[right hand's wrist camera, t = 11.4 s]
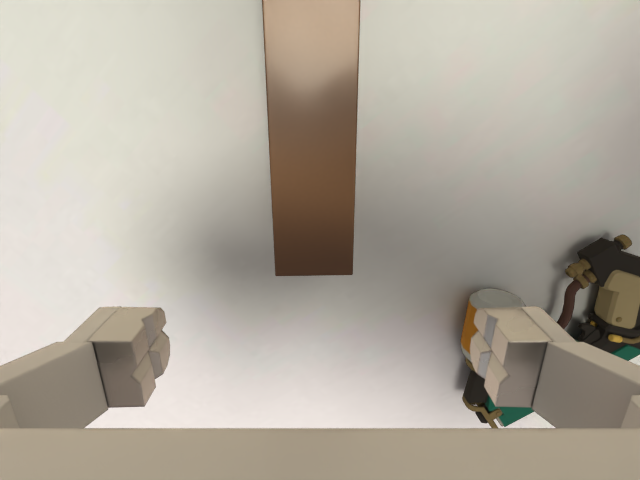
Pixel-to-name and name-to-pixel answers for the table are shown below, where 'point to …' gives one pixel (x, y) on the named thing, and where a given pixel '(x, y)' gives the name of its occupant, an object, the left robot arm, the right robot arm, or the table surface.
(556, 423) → the right robot arm
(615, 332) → the spray gun
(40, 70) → the table surface
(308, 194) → the beam
